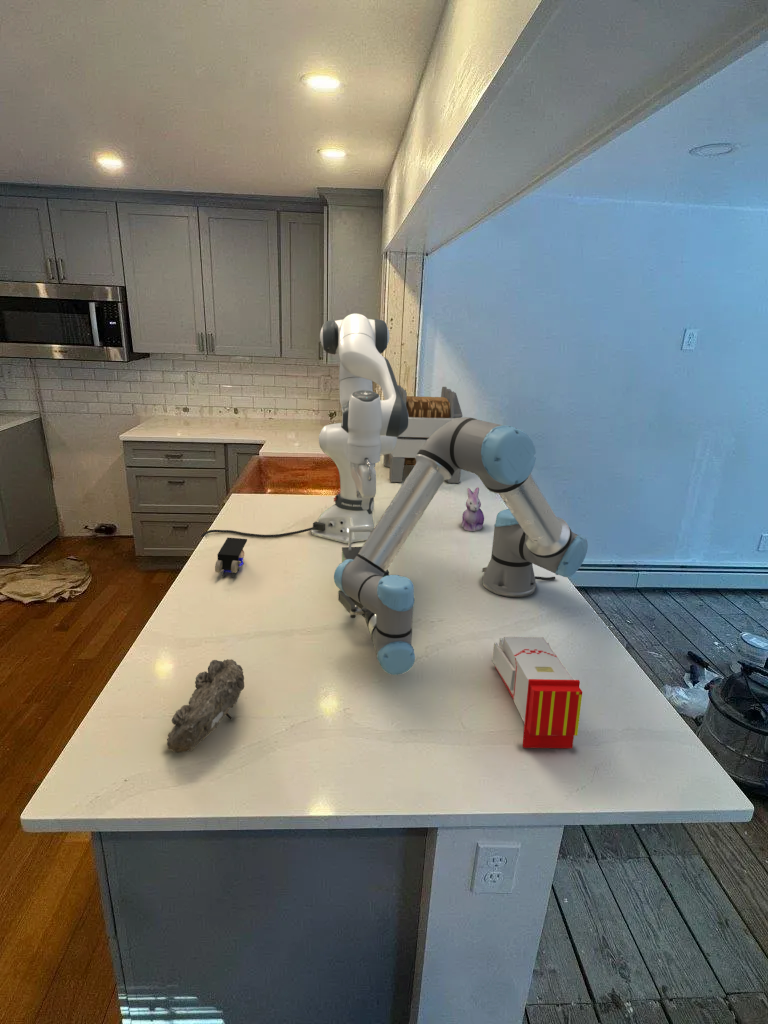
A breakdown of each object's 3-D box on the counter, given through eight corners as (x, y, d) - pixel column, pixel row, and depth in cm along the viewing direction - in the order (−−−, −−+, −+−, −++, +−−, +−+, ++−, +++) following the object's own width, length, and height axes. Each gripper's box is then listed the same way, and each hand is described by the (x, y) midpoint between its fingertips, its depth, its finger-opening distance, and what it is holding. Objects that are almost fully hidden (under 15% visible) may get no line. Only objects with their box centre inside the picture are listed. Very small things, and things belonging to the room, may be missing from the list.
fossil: (192, 660, 117) (244, 628, 112) (224, 691, 120) (276, 661, 115) (142, 746, 98) (202, 712, 93) (182, 779, 101) (242, 748, 96)
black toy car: (238, 584, 162) (249, 557, 175) (236, 562, 158) (247, 536, 172) (215, 584, 161) (227, 556, 175) (212, 561, 158) (225, 535, 171)
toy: (540, 620, 128) (592, 687, 99) (535, 674, 131) (584, 755, 102) (487, 619, 128) (523, 686, 99) (483, 673, 131) (517, 754, 101)
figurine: (470, 533, 202) (474, 493, 197) (453, 524, 211) (457, 485, 206) (491, 530, 207) (495, 491, 202) (474, 520, 215) (478, 483, 210)
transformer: (382, 463, 289) (386, 382, 275) (445, 464, 293) (451, 384, 279) (390, 482, 257) (394, 392, 243) (460, 483, 261) (468, 394, 247)
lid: (341, 550, 161) (342, 523, 158) (376, 548, 163) (377, 522, 160) (350, 577, 145) (351, 548, 142) (388, 575, 147) (390, 546, 145)
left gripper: (383, 464, 141) (380, 515, 146) (369, 444, 160) (367, 491, 165) (358, 464, 140) (356, 516, 145) (346, 445, 159) (345, 491, 164)
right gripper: (334, 641, 129) (324, 594, 149) (430, 634, 133) (408, 590, 154) (334, 612, 126) (324, 569, 146) (432, 606, 131) (409, 565, 151)
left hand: (362, 503), depth 155 cm, fingers open, 8 cm apart
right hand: (367, 579), depth 150 cm, fingers closed on chest, 10 cm apart
